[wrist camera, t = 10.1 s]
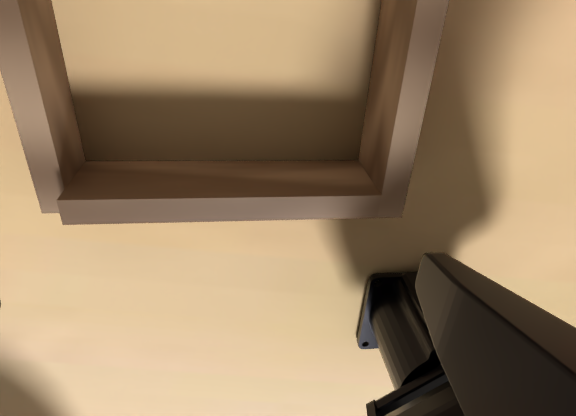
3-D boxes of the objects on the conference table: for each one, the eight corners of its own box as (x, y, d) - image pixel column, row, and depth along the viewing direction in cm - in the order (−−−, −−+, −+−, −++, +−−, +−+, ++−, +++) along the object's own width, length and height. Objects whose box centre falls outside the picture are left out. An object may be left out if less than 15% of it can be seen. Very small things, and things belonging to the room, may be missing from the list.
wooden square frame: (376, 180, 23) (401, 217, 20) (65, 183, 21) (32, 225, 18) (447, -230, 15) (512, -289, 11) (-53, -292, 13) (-158, -387, 9)
